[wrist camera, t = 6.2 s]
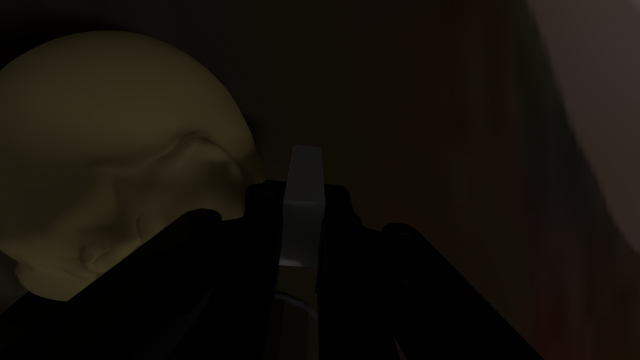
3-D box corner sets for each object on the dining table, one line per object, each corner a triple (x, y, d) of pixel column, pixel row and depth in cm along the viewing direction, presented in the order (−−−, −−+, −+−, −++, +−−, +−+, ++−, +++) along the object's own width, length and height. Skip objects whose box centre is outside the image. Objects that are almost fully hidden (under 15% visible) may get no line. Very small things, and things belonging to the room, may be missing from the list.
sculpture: (175, 245, 24) (77, 389, 14) (36, 110, 20) (-241, 176, 10) (301, 162, 22) (294, 262, 12) (174, -9, 18) (-4, -79, 8)
